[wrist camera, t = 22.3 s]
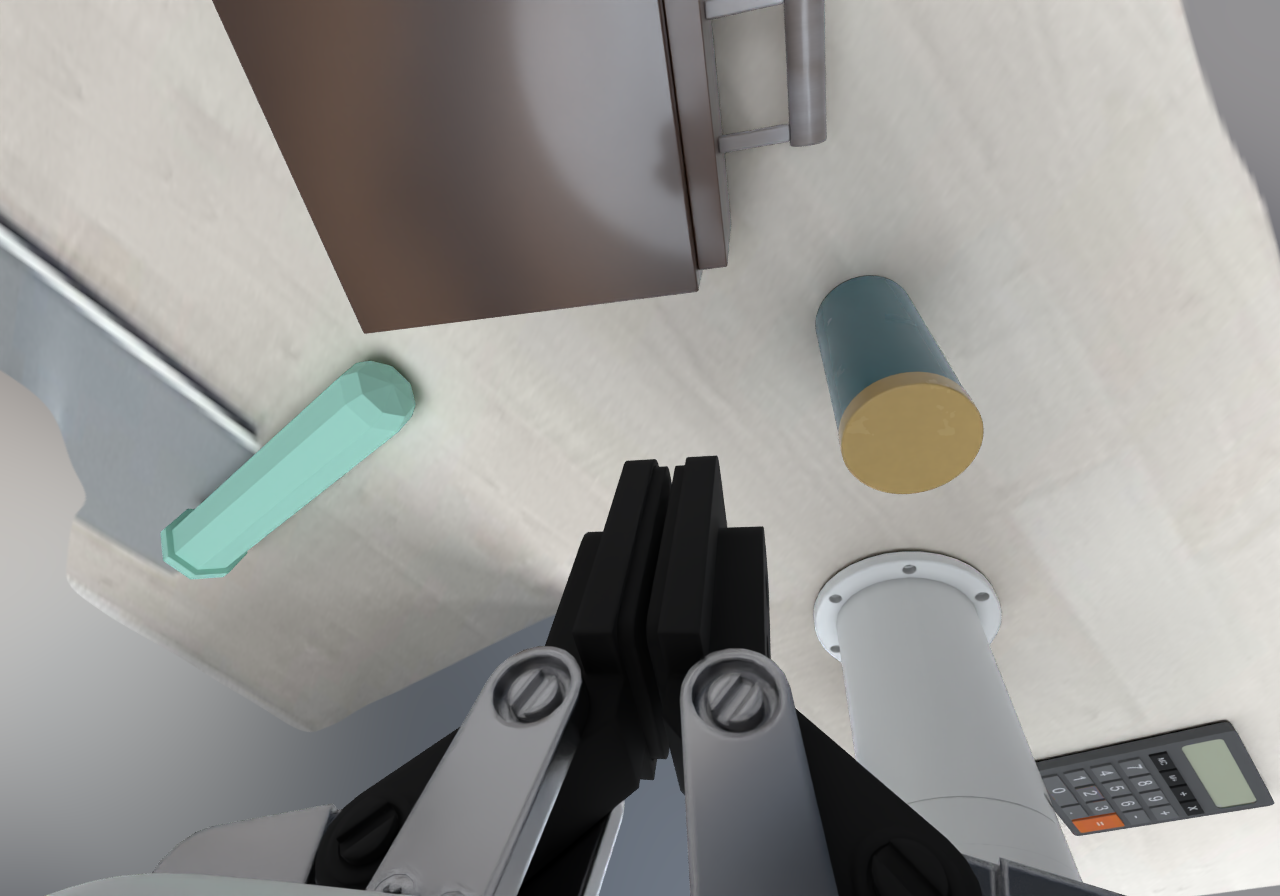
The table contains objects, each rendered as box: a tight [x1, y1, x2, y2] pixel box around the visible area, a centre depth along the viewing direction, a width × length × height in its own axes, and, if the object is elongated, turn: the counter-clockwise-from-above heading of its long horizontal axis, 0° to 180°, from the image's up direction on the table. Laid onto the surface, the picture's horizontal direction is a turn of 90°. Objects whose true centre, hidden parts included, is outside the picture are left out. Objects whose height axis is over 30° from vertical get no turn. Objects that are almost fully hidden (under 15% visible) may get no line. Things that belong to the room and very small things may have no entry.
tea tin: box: [815, 276, 983, 494], centre depth 28 cm, size 5×5×12 cm
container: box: [161, 361, 416, 579], centre depth 43 cm, size 6×6×25 cm
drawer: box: [663, 0, 827, 270], centre depth 25 cm, size 19×13×7 cm
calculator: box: [1036, 722, 1274, 836], centre depth 51 cm, size 12×1×15 cm
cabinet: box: [212, 0, 702, 334], centre depth 26 cm, size 16×14×9 cm
